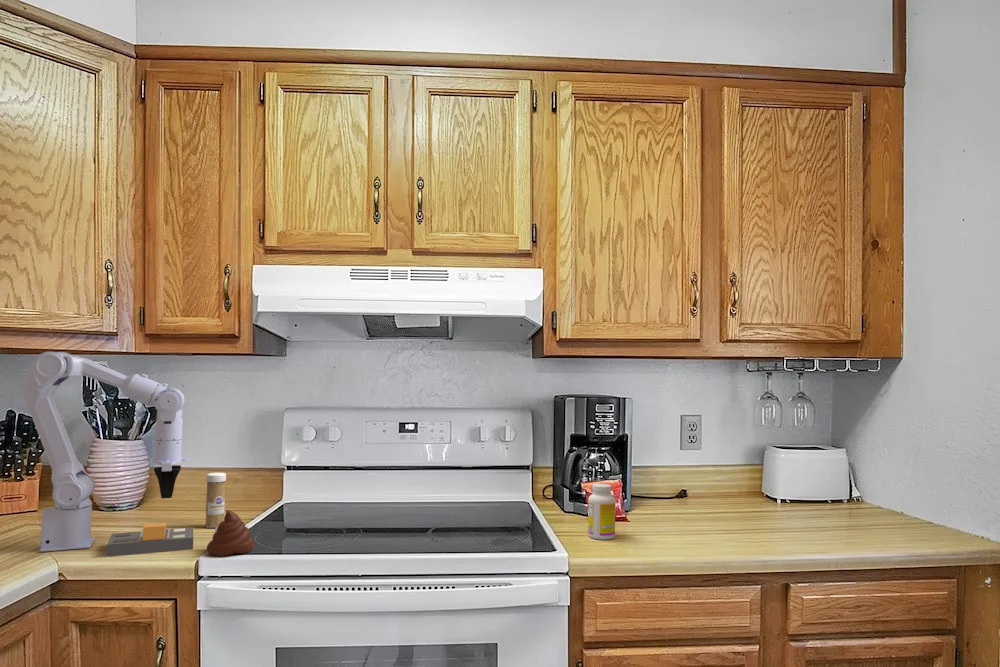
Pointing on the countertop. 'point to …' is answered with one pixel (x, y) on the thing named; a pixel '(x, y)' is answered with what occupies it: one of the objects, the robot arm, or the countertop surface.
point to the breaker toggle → (154, 531)
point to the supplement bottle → (601, 513)
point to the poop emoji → (230, 537)
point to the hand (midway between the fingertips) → (166, 497)
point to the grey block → (149, 542)
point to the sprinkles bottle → (215, 499)
